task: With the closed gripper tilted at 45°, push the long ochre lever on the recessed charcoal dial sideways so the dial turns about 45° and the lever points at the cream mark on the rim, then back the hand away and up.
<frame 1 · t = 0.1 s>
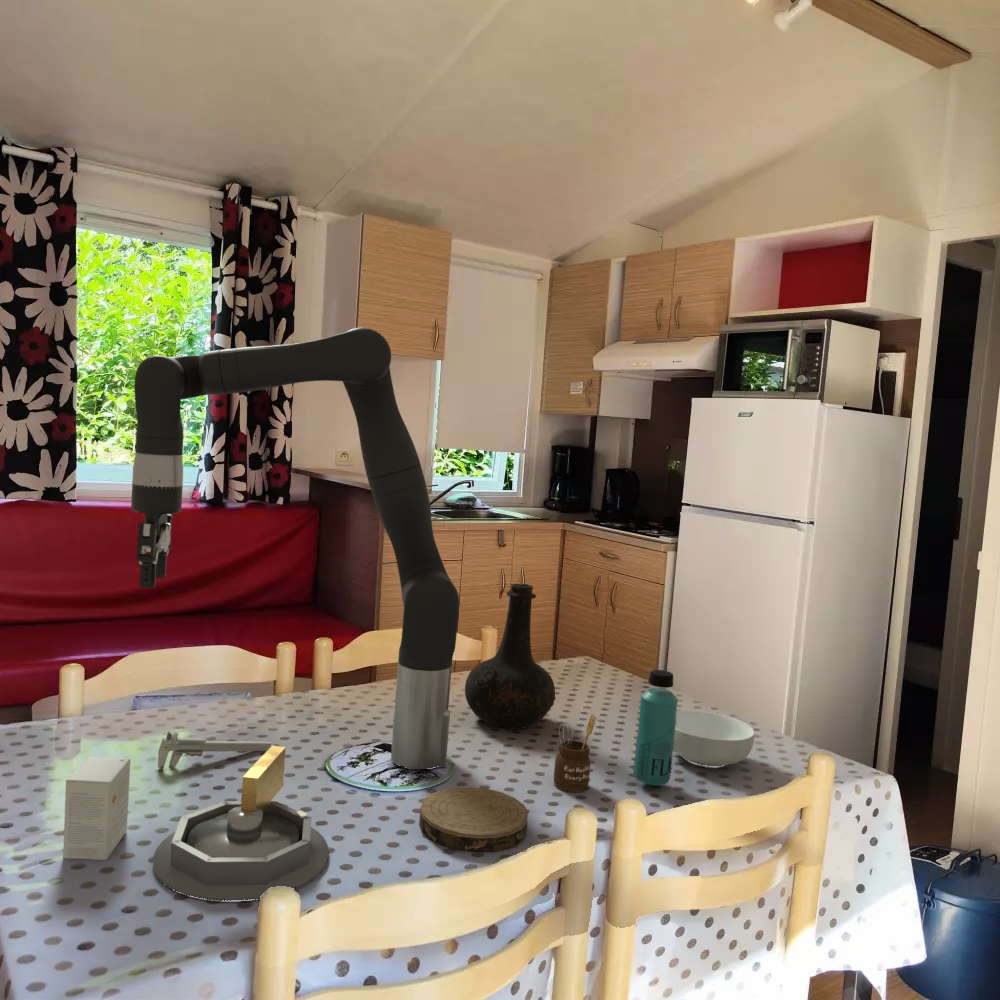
hand: (153, 582, 144), 29 cm above the table, tool pointing down, fingers open, 8 cm apart
cereal bowl: (704, 761, 167), on the table
beverage bottle: (650, 787, 152), on the table
small box: (95, 846, 117), on the table
glass bottle: (507, 722, 179), on the table
caliper: (219, 761, 149), on the table
dial housing: (242, 857, 117), on the table
dial: (252, 806, 119), point 6 cm above the table, hinge at 0.0°
utensil holder: (571, 786, 150), on the table
wooden log slice: (472, 830, 131), on the table
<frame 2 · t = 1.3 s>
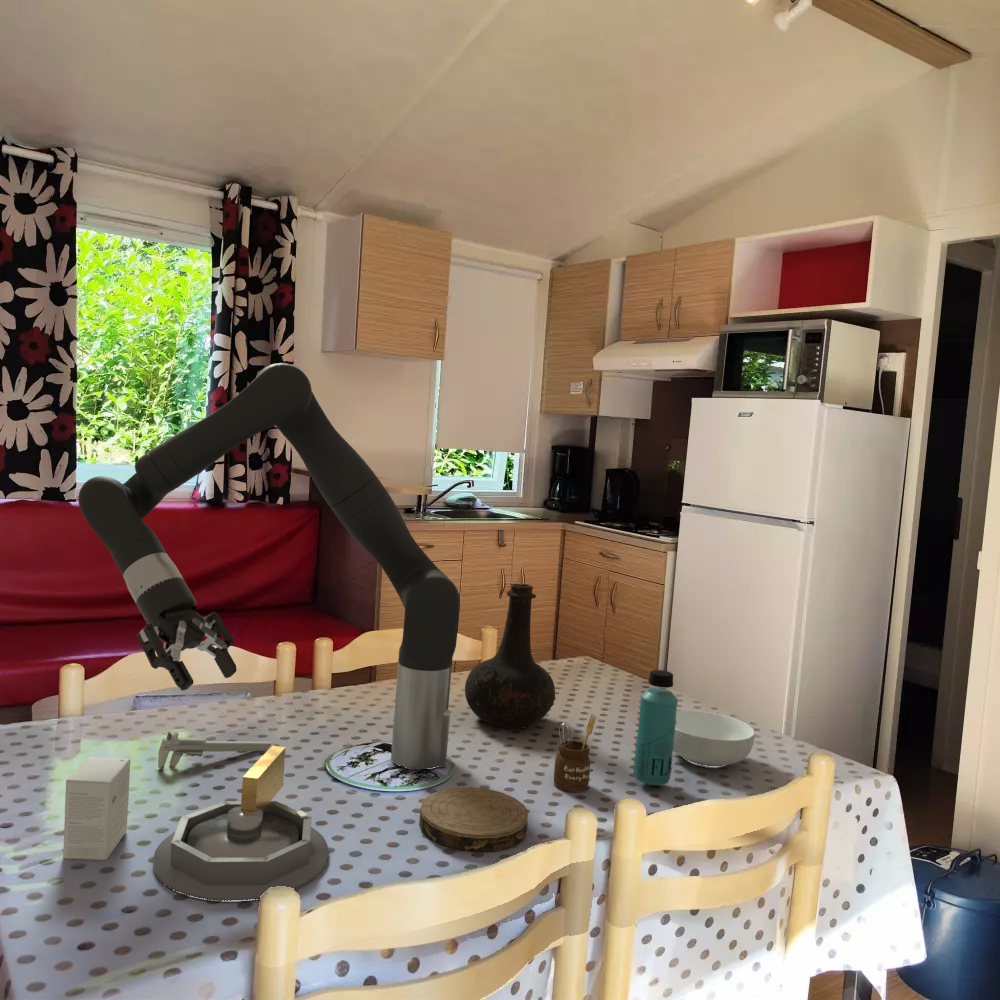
hand: (210, 680, 130), 19 cm above the table, tool tilted 45°, fingers open, 8 cm apart
nothing on the table moved.
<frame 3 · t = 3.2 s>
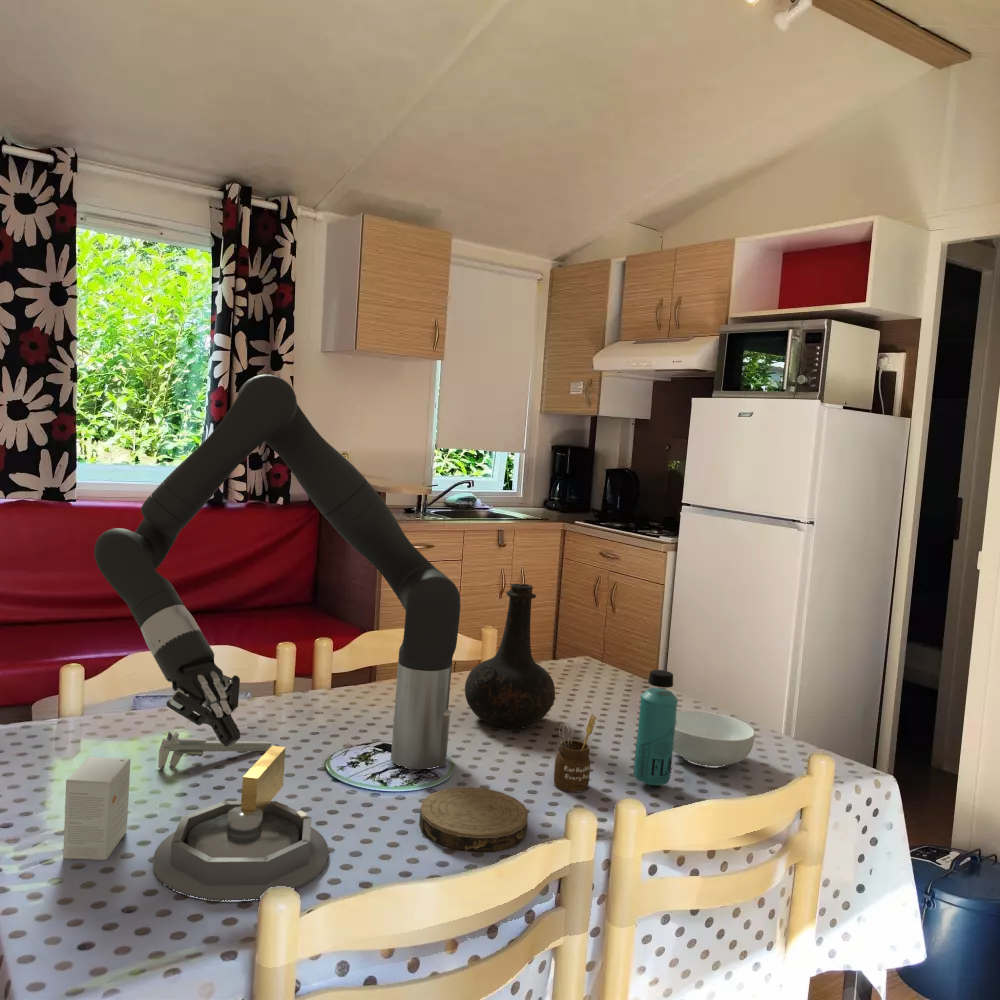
hand: (233, 742, 129), 11 cm above the table, tool tilted 45°, fingers closed
nothing on the table moved.
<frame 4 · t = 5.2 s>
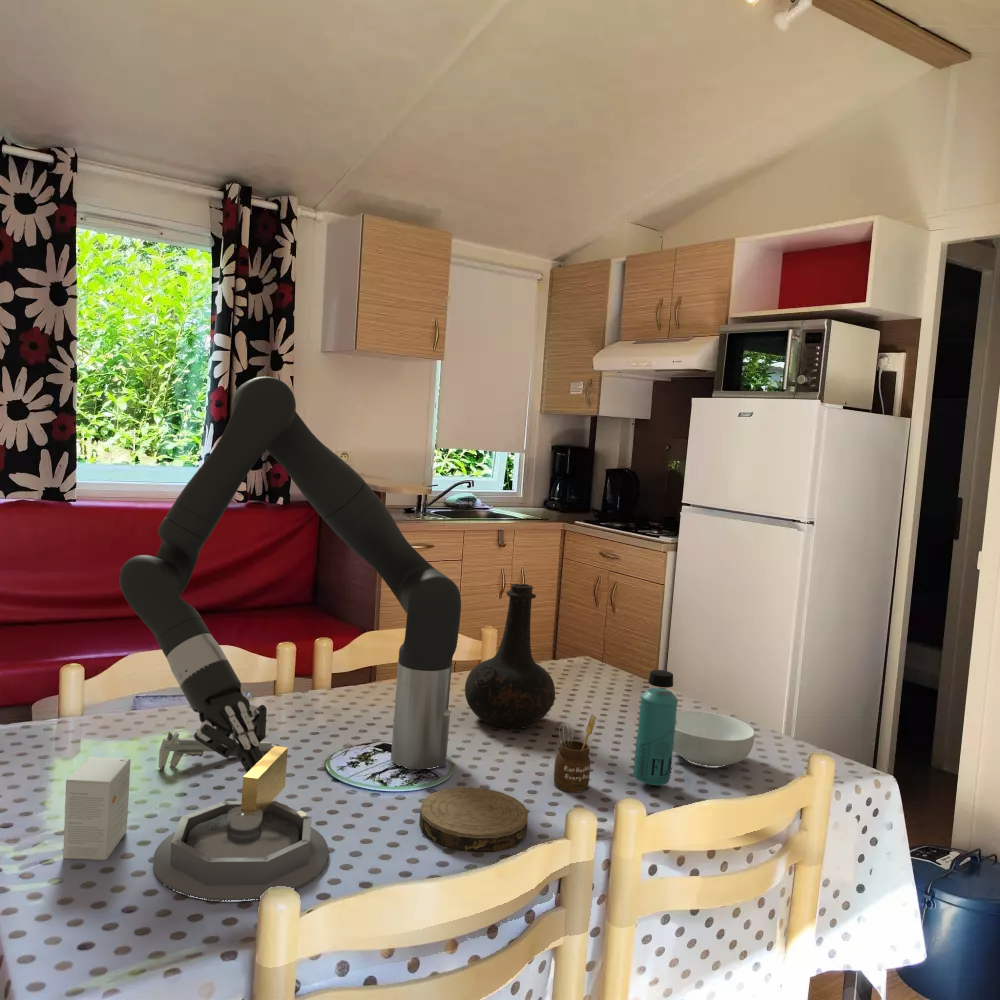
hand: (261, 774, 127), 7 cm above the table, tool tilted 45°, fingers closed
dial: (253, 806, 119), point 6 cm above the table, hinge at 1.5°, touching gripper
everything else where it was.
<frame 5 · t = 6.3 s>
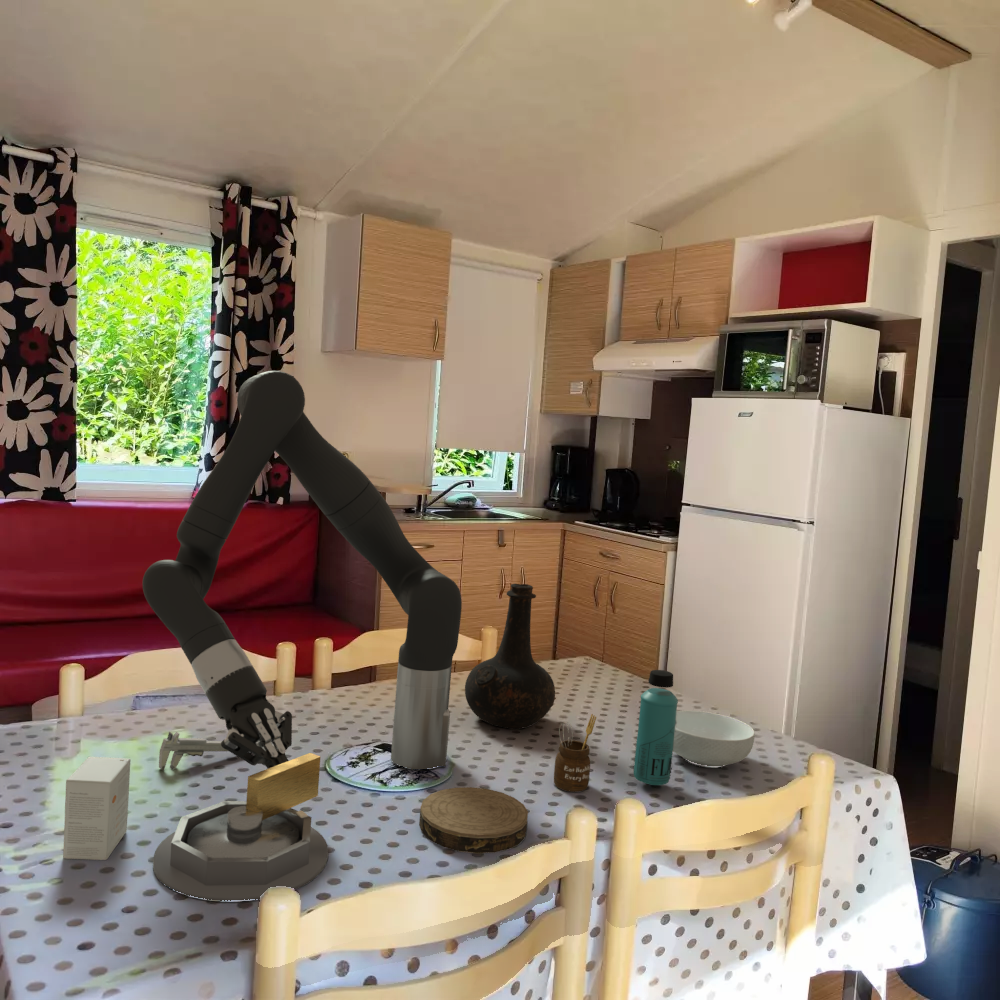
hand: (288, 782, 125), 7 cm above the table, tool tilted 45°, fingers closed
dial: (261, 808, 119), point 6 cm above the table, hinge at 27.8°, touching gripper
everything else where it was.
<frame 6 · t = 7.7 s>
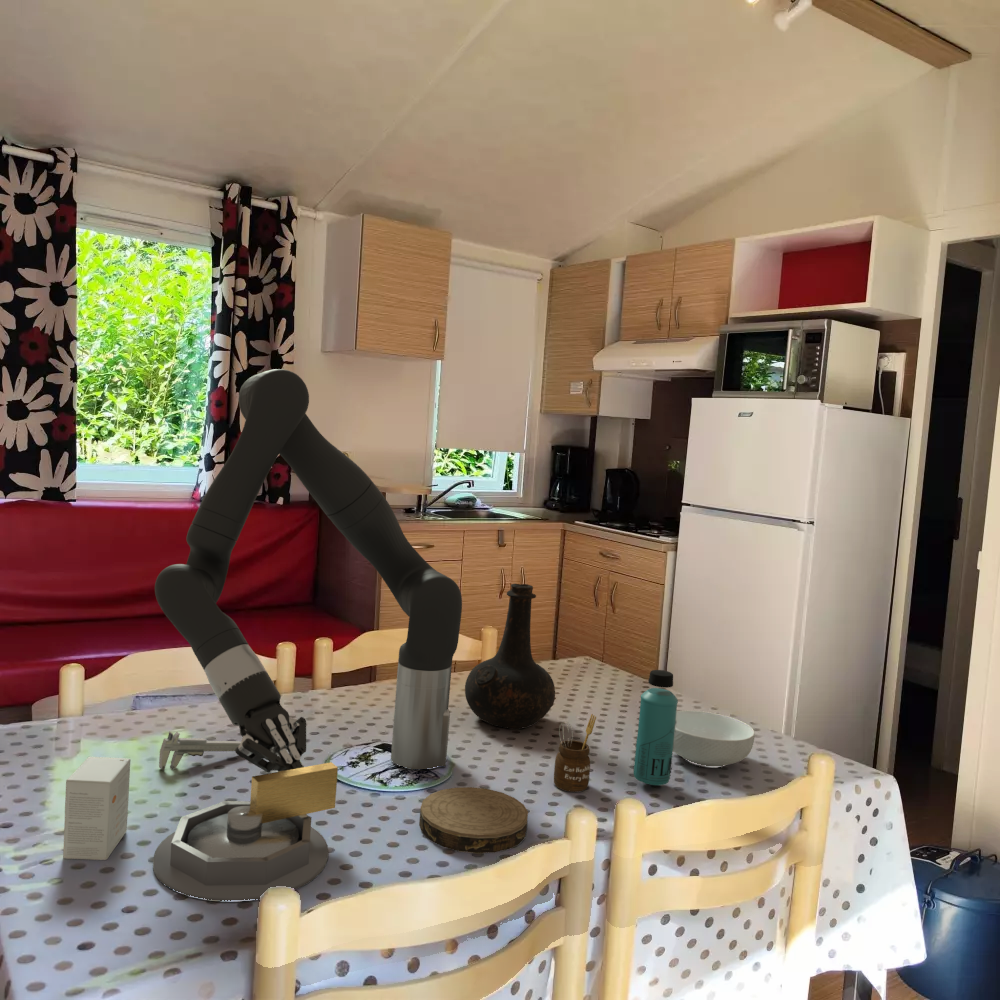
hand: (303, 789, 123), 7 cm above the table, tool tilted 45°, fingers closed
dial: (265, 810, 118), point 6 cm above the table, hinge at 48.4°, touching gripper
everything else where it was.
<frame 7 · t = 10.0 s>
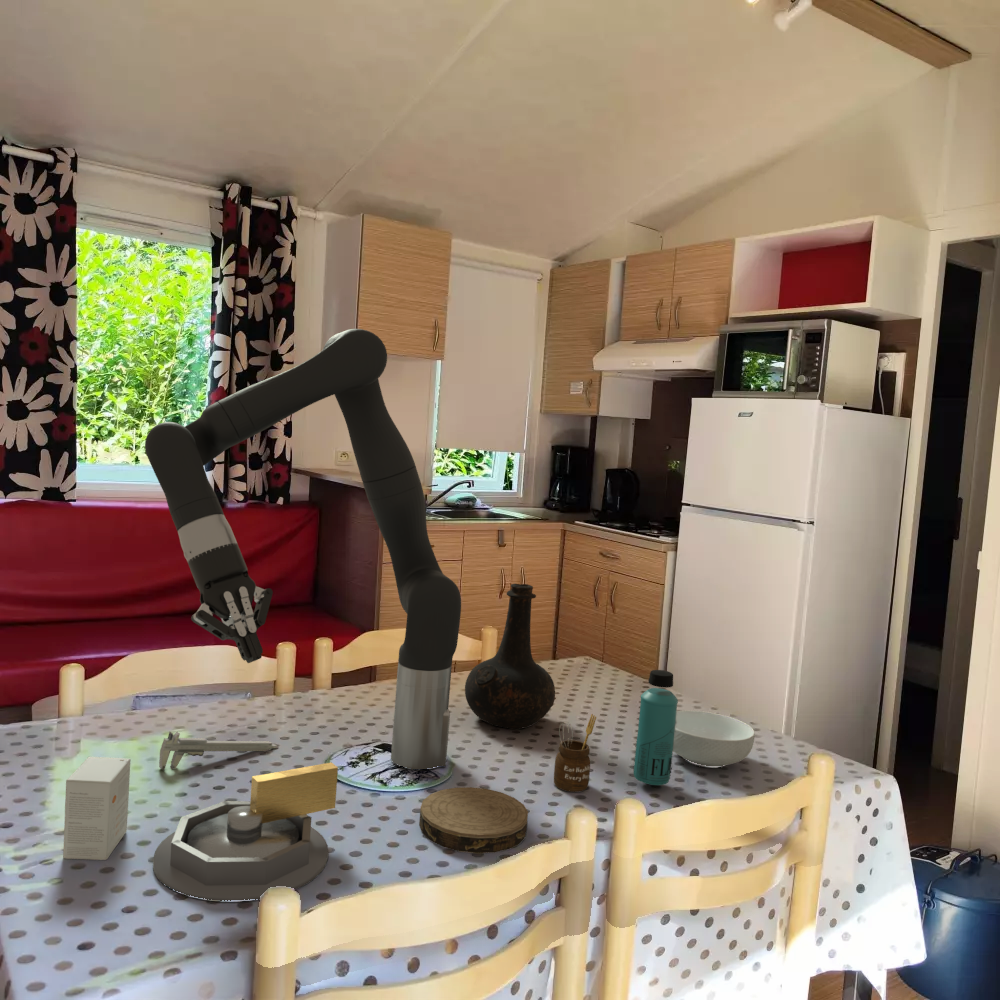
hand: (255, 660, 130), 22 cm above the table, tool tilted 30°, fingers closed
dial: (265, 810, 118), point 6 cm above the table, hinge at 48.6°
everything else where it was.
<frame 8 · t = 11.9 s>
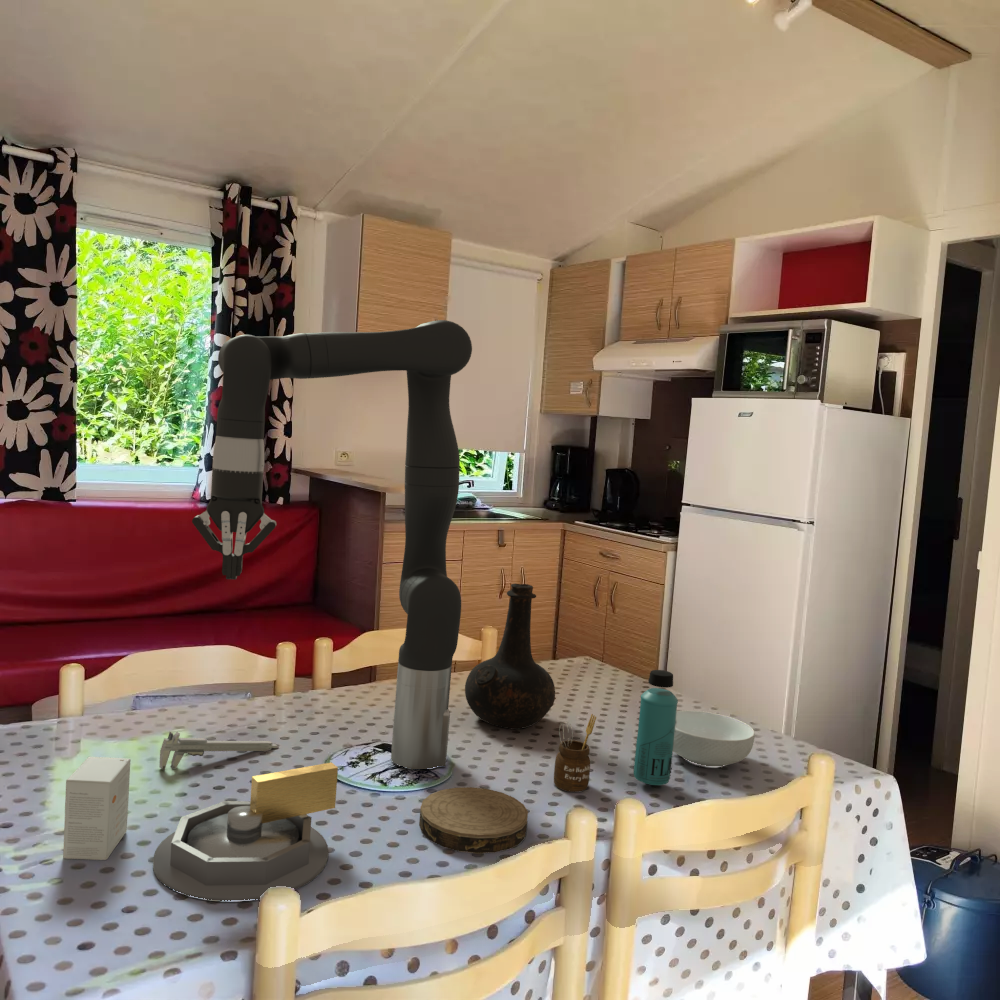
hand: (231, 578, 138), 32 cm above the table, tool pointing down, fingers closed
nothing on the table moved.
at the end: dial at +49° (first picture: +0°); small box moved 0.3 cm from its start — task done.
